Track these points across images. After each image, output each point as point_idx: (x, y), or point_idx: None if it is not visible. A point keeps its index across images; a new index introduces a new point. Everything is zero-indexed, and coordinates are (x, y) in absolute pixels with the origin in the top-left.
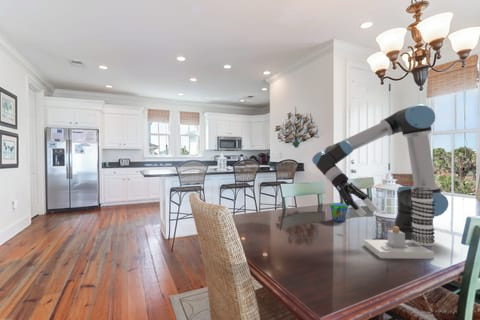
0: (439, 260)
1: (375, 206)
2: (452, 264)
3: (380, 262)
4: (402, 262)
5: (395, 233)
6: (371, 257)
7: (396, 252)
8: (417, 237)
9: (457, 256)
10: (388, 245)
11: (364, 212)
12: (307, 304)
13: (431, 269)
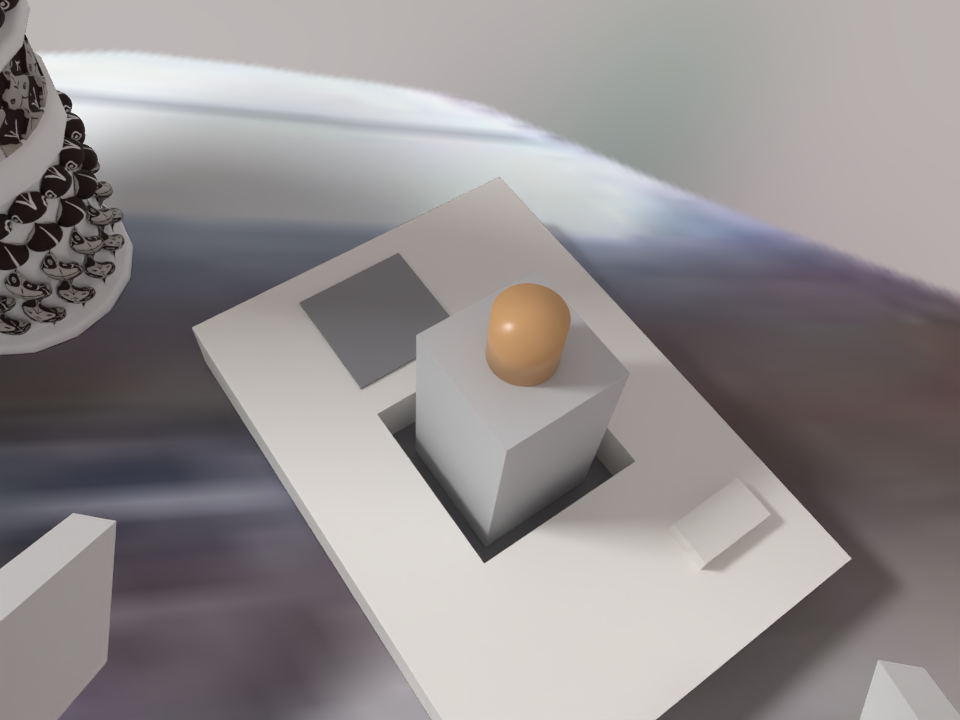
0: None
1: (49, 549)
2: (540, 134)
3: (930, 566)
4: (770, 405)
5: (611, 355)
6: (872, 666)
7: (725, 425)
8: (80, 263)
9: (325, 94)
10: (503, 520)
11: (939, 696)
12: None
13: (753, 240)
